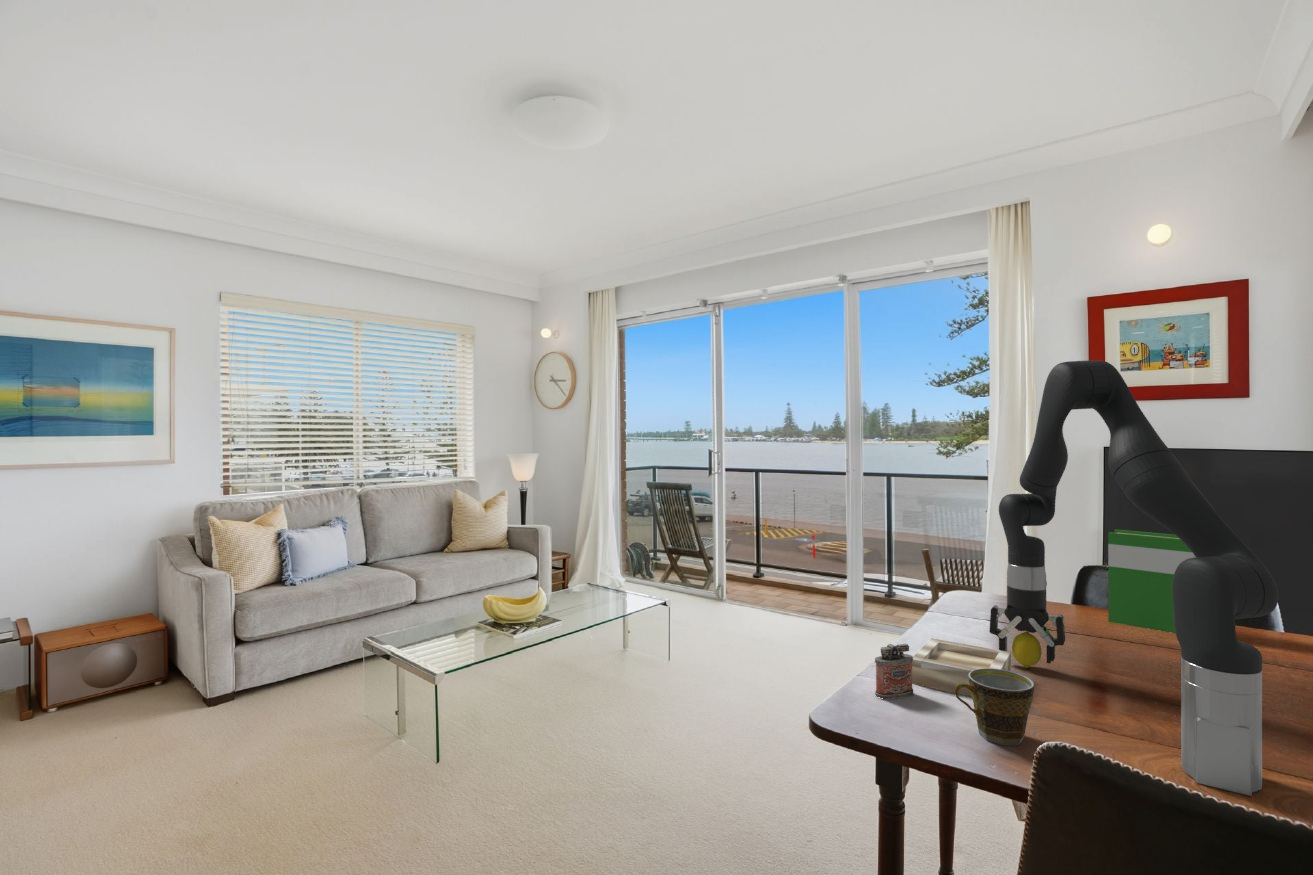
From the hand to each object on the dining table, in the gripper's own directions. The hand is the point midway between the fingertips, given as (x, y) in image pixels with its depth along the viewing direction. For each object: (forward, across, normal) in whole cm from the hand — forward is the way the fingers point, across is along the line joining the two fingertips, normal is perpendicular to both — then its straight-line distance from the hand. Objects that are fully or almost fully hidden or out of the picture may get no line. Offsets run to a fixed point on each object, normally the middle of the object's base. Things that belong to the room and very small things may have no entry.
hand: (1026, 658), depth 142 cm
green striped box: (+2, +22, +52) cm, 57 cm away
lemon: (+2, 0, 0) cm, 2 cm away
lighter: (+2, -19, -31) cm, 36 cm away
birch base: (+3, -10, -15) cm, 18 cm away
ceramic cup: (+2, 0, -39) cm, 39 cm away
